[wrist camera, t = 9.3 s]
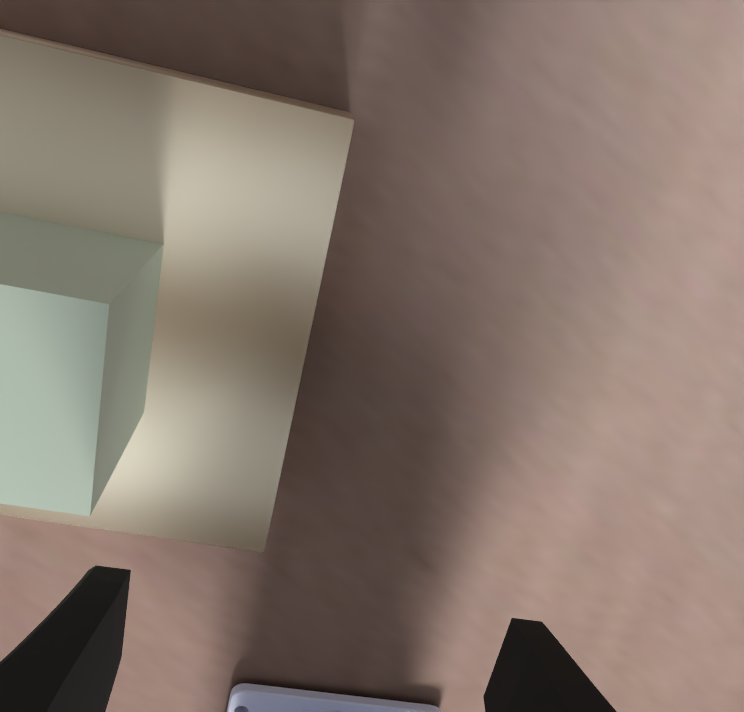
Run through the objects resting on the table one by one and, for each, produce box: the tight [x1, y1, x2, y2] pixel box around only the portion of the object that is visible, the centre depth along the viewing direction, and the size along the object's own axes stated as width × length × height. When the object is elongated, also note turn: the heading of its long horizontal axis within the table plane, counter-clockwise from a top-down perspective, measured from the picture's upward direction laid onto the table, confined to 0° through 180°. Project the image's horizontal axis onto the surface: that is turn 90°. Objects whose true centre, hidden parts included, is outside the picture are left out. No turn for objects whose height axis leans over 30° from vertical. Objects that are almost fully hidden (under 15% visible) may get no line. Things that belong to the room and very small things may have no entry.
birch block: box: [0, 28, 355, 553], centre depth 18 cm, size 12×12×3 cm
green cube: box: [0, 212, 164, 516], centre depth 15 cm, size 4×4×4 cm
